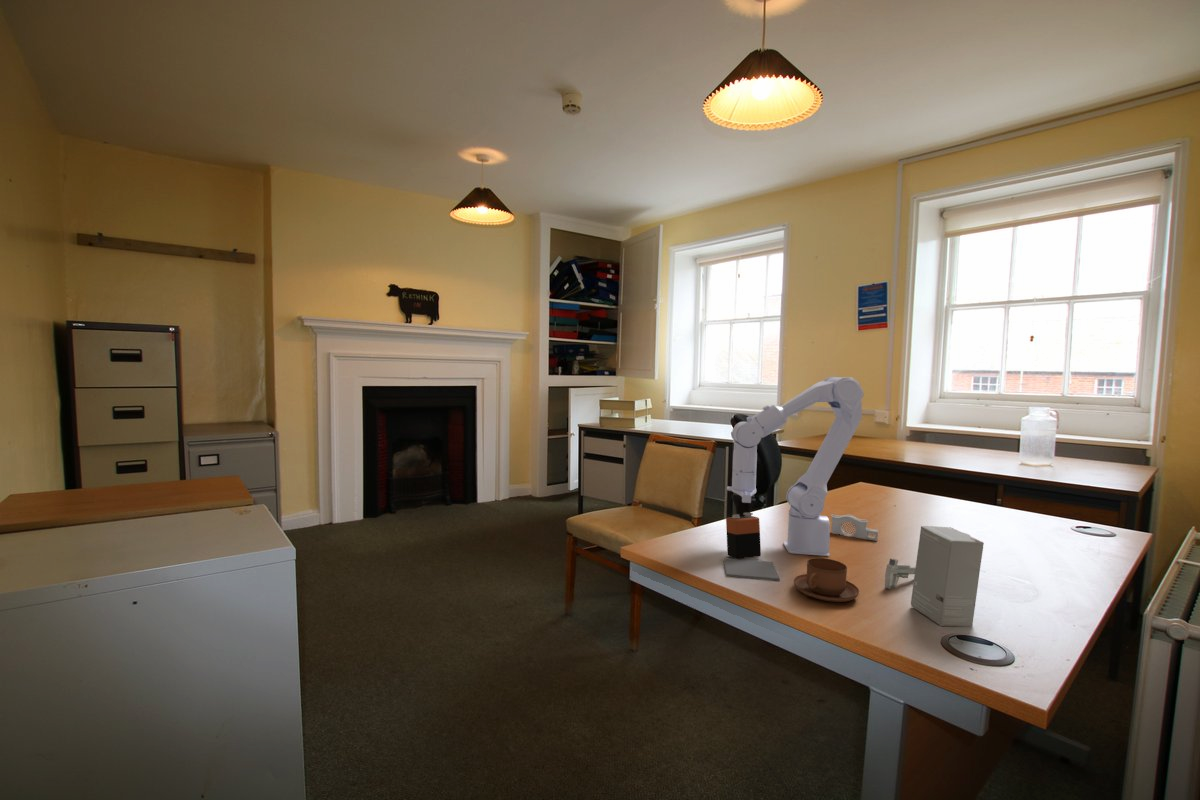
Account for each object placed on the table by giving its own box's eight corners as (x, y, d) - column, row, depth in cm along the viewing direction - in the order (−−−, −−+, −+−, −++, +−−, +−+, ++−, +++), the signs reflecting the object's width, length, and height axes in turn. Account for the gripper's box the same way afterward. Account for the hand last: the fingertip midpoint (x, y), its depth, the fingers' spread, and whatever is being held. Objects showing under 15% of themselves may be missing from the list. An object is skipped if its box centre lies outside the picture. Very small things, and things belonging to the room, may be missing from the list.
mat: (772, 564, 124) (772, 561, 124) (779, 580, 114) (780, 578, 114) (723, 560, 125) (723, 558, 125) (726, 576, 116) (726, 574, 116)
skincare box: (909, 606, 103) (914, 524, 102) (945, 606, 103) (950, 524, 102) (941, 628, 94) (946, 539, 93) (979, 627, 95) (985, 538, 94)
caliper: (889, 591, 110) (891, 561, 110) (884, 589, 111) (885, 559, 111) (941, 573, 121) (943, 545, 121) (936, 571, 122) (938, 544, 122)
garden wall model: (879, 540, 144) (880, 518, 143) (878, 542, 142) (879, 520, 142) (830, 532, 150) (831, 511, 150) (829, 533, 149) (830, 512, 148)
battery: (761, 556, 127) (760, 513, 127) (737, 559, 124) (735, 515, 125) (750, 553, 131) (748, 511, 132) (726, 555, 128) (724, 513, 129)
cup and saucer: (854, 613, 100) (856, 580, 99) (787, 597, 106) (788, 566, 106) (862, 591, 110) (863, 562, 109) (800, 578, 116) (801, 550, 116)
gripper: (725, 464, 141) (723, 515, 142) (730, 475, 127) (727, 532, 128) (753, 466, 140) (751, 517, 141) (761, 476, 126) (758, 534, 127)
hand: (742, 524), depth 134 cm, fingers closed
